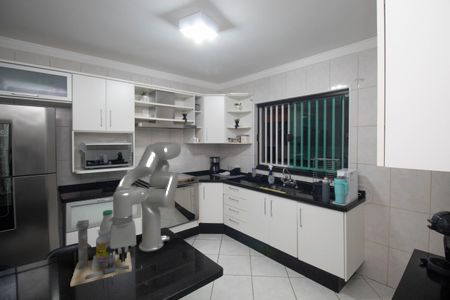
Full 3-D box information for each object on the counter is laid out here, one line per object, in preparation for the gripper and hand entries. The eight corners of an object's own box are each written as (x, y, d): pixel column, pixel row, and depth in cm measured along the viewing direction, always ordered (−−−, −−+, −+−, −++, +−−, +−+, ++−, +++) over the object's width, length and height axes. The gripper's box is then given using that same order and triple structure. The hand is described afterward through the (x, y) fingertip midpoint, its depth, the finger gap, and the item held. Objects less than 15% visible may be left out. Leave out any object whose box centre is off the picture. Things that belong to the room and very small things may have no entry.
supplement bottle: (92, 259, 94) (92, 232, 93) (107, 253, 100) (106, 227, 99) (101, 264, 91) (101, 235, 90) (115, 256, 97) (115, 230, 96)
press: (129, 254, 104) (129, 212, 103) (131, 270, 91) (131, 223, 90) (77, 265, 94) (76, 219, 93) (70, 286, 81) (69, 232, 80)
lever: (115, 266, 90) (115, 243, 90) (115, 270, 88) (115, 246, 87) (105, 269, 89) (105, 245, 88) (104, 273, 86) (104, 248, 85)
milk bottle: (96, 249, 108) (95, 212, 107) (109, 242, 115) (109, 207, 115) (106, 252, 105) (106, 214, 104) (119, 245, 113) (119, 209, 112)
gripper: (102, 225, 83) (102, 270, 83) (142, 219, 90) (142, 260, 90) (103, 219, 89) (103, 260, 90) (140, 213, 96) (140, 252, 97)
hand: (123, 260), depth 90 cm, fingers closed
